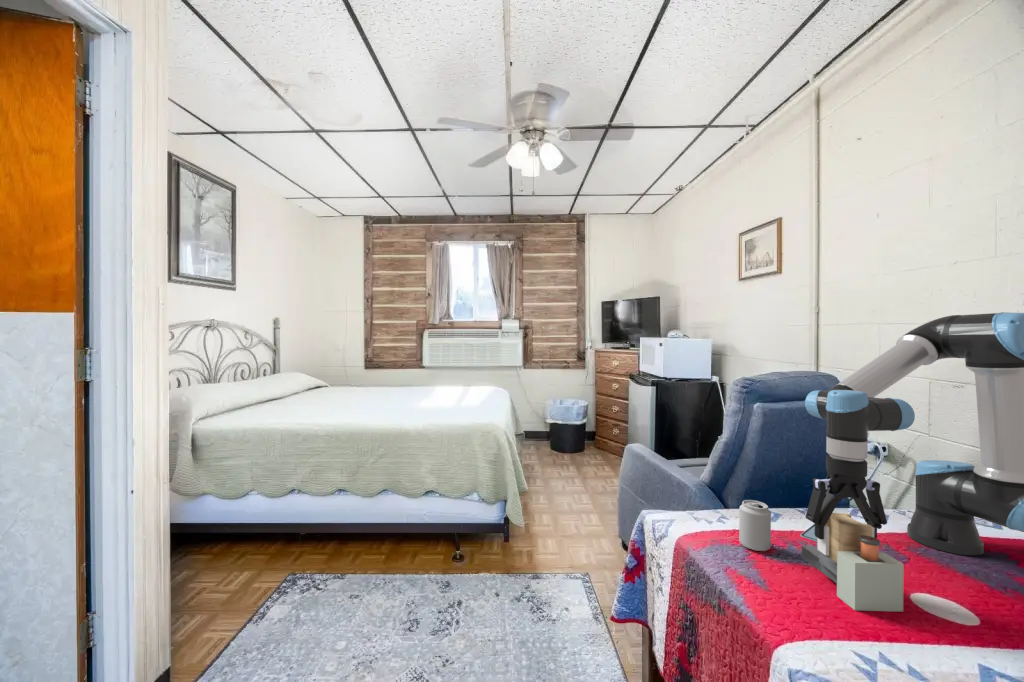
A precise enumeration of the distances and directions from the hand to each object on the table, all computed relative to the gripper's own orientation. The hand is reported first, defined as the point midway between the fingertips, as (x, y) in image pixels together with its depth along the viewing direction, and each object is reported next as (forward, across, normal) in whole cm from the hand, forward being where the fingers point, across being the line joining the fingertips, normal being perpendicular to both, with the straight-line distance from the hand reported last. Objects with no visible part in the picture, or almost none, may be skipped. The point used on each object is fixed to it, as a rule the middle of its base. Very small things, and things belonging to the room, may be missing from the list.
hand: (845, 552), depth 97 cm
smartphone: (+8, -14, -27) cm, 31 cm away
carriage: (+8, 0, 0) cm, 8 cm away
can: (+8, +11, -18) cm, 22 cm away
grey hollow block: (+8, 0, +7) cm, 10 cm away
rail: (+8, 0, -4) cm, 9 cm away
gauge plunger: (-2, 0, +7) cm, 7 cm away
